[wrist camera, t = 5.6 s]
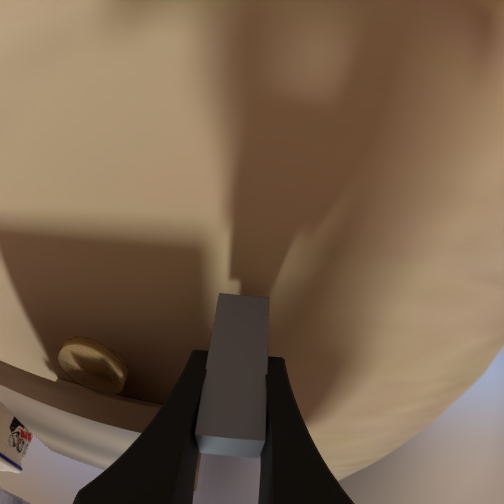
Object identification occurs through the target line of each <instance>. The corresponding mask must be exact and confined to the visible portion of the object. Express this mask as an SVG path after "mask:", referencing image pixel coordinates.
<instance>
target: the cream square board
mask: <svg viewBox="0 0 504 504" xmlns="http://www.w3.org/2000/svg"><path fill="white" fill-rule="evenodd" d="M0 401H1V403H2V404H3V405H4V406H5V407H6V408H7V409H8V410H9V411H10V412H11V413H12V414H13V415H14V416H15V417H16V418H17V419H18V420H19V421H20V422H21V423H22V424H23V425H24V426H25V427H26V428H27V429H28V430H29V431H30V432H31V433H32V434H33V435H34V436H36V437H37V438H38V439H39V440H40V441H41V442H42V443H43V444H45V445H46V446H47V447H48V448H49V449H51V450H52V451H54V452H56V453H59V454H61V455H64V456H66V457H69V458H71V459H74V460H76V461H79V462H82V463H85V464H88V465H91V466H93V467H97V468H99V469H103V470H106V469H107V468H108V467H109V466H110V465H111V464H113V463H114V462H115V461H116V460H117V459H118V458H119V457H120V456H121V455H122V454H123V453H124V452H125V451H126V450H127V449H128V448H129V447H130V446H131V445H132V443H133V442H134V441H135V440H136V439H137V438H138V437H139V436H140V434H141V433H142V432H143V431H144V430H145V428H146V427H147V426H148V425H149V423H150V422H151V421H152V419H153V418H154V417H155V415H156V414H157V412H158V411H159V409H160V408H161V407H162V405H163V404H157V403H152V402H147V401H142V400H137V399H132V398H128V397H124V396H119V395H115V394H112V395H110V394H102V393H98V392H95V391H92V390H90V389H88V388H86V387H84V386H81V385H78V384H74V383H71V382H68V381H64V380H61V379H58V378H57V381H56V382H54V381H52V380H49V379H46V378H43V377H40V376H37V375H35V374H32V373H29V372H27V371H24V370H22V369H19V368H17V367H14V366H12V365H9V364H7V363H5V362H2V361H0ZM200 460H201V453H200V451H199V455H198V460H197V467H196V476H195V485H194V491H196V489H197V481H198V474H199V467H200Z"/></svg>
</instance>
